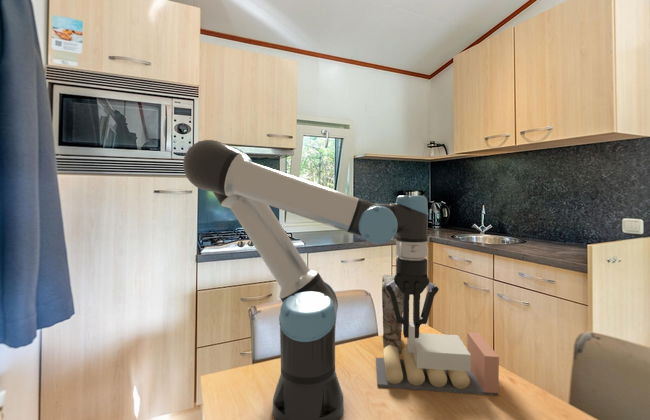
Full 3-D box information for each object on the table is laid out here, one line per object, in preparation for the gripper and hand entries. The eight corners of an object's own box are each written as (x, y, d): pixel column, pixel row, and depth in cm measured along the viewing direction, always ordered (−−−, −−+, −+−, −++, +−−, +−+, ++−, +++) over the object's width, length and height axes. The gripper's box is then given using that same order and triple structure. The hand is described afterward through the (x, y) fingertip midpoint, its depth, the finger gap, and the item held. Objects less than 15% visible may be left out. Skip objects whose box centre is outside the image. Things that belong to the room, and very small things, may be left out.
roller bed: (377, 386, 73) (377, 367, 73) (375, 359, 85) (375, 343, 85) (498, 395, 69) (498, 375, 69) (478, 366, 81) (479, 349, 81)
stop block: (484, 394, 70) (484, 356, 69) (466, 365, 82) (467, 332, 81) (498, 395, 69) (499, 356, 69) (478, 366, 81) (479, 333, 81)
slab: (416, 368, 72) (417, 351, 72) (410, 347, 82) (410, 332, 82) (470, 371, 71) (470, 354, 71) (457, 349, 81) (457, 335, 80)
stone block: (406, 355, 87) (407, 285, 86) (382, 354, 88) (382, 285, 87) (399, 334, 100) (399, 273, 99) (377, 333, 101) (377, 273, 100)
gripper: (386, 259, 73) (385, 355, 75) (442, 261, 72) (441, 359, 73) (384, 253, 81) (383, 341, 82) (435, 254, 79) (434, 344, 80)
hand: (410, 349), depth 77 cm, fingers closed
